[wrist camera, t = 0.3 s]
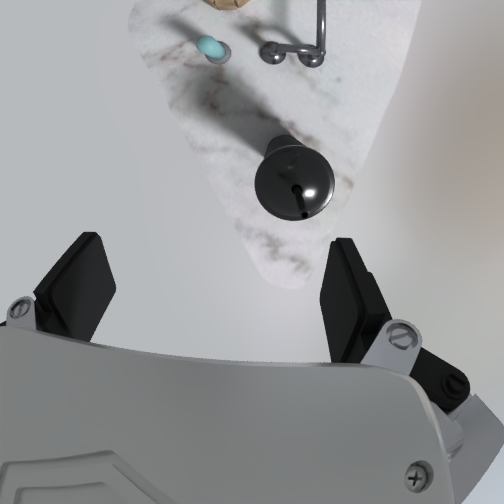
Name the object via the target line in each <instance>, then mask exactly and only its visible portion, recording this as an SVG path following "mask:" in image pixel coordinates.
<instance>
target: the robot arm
mask: <svg viewBox="0 0 504 504" xmlns="http://www.w3.org/2000/svg"><path fill="white" fill-rule="evenodd" d="M115 292H116V284H115V281H114V278H113V275H112V272H111V269H110V266H109V263H108V260H107V256H106V253H105V250H104V246H103V243H102V240H101V237H100V236H99V235H98V234H97V233H96V232H83V233H82V234H81V235H80V236H79V237H78V239H77V240H76V241H75V242H74V243H73V244H72V245H71V246H70V247H69V248H68V250H67V251H66V252H65V253H64V254H63V255H62V257H61V258H60V259H59V260H58V261H57V262H56V264H55V265H54V266H53V267H52V269H51V270H50V271H49V272H48V273H47V275H46V276H45V277H44V278H43V280H42V281H41V282H40V284H39V285H38V286H37V287H36V289H35V290H34V291H33V293H34V295H35V296H36V298H37V299H36V300H35V301H34V300H33V299H32V298H31V297H29V296H26V297H25V296H24V297H21V298H19V299H17V300H16V301H14V302H13V303H12V304H11V306H10V307H9V309H8V311H7V320H6V321H4V322H2V323H1V324H0V504H461V503H462V502H463V501H464V500H465V498H466V497H467V496H468V495H469V493H470V492H471V491H472V490H473V488H474V487H475V486H476V485H477V483H478V482H479V480H480V479H481V478H482V476H483V475H484V474H485V472H486V471H487V469H488V468H489V466H490V465H491V463H492V462H493V460H494V459H495V457H496V456H497V454H498V453H499V451H500V449H501V448H502V446H503V444H504V426H503V424H502V423H501V422H500V420H499V419H498V418H497V417H496V416H495V415H494V414H493V413H492V411H491V410H490V409H489V408H488V407H487V406H486V405H485V404H484V402H483V401H482V400H481V399H480V398H479V397H478V396H477V395H476V394H474V395H473V396H472V395H471V394H470V383H469V381H468V378H467V377H466V376H465V374H464V373H463V372H461V371H460V370H459V369H457V368H455V367H454V366H452V365H450V364H449V363H447V362H445V361H444V360H442V359H440V358H439V357H437V356H435V355H434V354H432V353H430V352H429V351H427V350H425V349H424V348H422V347H421V345H422V336H421V334H420V332H419V330H418V329H417V328H416V327H415V326H414V325H413V324H411V323H410V322H407V321H405V320H400V319H394V320H393V319H392V317H391V314H390V312H389V310H388V307H387V305H386V303H385V300H384V298H383V296H382V294H381V291H380V289H379V287H378V285H377V283H376V280H375V278H374V276H373V274H372V273H371V272H368V271H367V269H366V267H365V265H364V262H363V260H362V258H361V256H360V254H359V252H358V250H357V248H356V246H355V244H354V242H353V240H352V239H351V238H336V240H335V241H332V242H331V244H330V249H329V255H328V259H327V264H326V269H325V274H324V279H323V283H322V288H321V292H320V306H321V311H322V315H323V320H324V325H325V330H326V335H327V341H328V346H329V351H330V356H331V362H332V363H321V362H320V363H286V362H285V363H284V362H248V361H230V360H216V359H203V358H192V357H182V356H173V355H165V354H157V353H150V352H142V351H135V350H129V349H123V348H117V347H112V346H106V345H101V344H96V343H91V342H90V340H91V338H92V336H93V334H94V332H95V330H96V328H97V326H98V324H99V322H100V320H101V318H102V316H103V314H104V312H105V311H106V309H107V307H108V305H109V303H110V301H111V299H112V297H113V296H114V294H115Z"/></svg>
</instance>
